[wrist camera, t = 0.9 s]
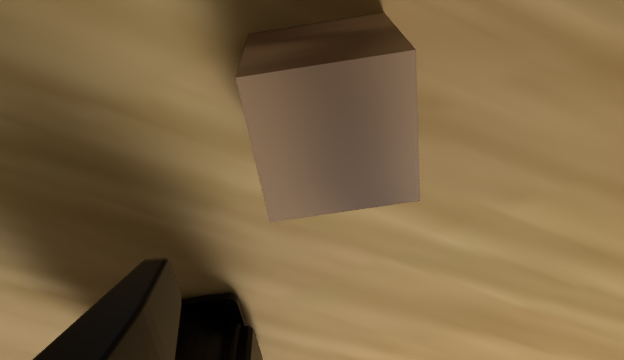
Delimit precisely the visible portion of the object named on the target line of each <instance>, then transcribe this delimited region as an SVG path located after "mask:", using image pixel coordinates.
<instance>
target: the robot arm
mask: <svg viewBox="0 0 624 360" xmlns="http://www.w3.org/2000/svg"><path fill="white" fill-rule="evenodd" d="M226 302H230V303H231V304H227V303H226ZM33 360H263V359H262V354H261V351H260V348H259V345H258V341H257V338H256V335H255V331H254V329H253V328H252V327H251V326H250V325H247V324H246V321H245V318H244V314H243V311H242V308H241V305H240V302H239V299H238V297H237V296H236V295H235V294H232V293H223V294H216V295H209V296H201V297H194V298H187V299H181V293H180V289H179V286H178V282H177V279H176V276H175V272H174V269H173V266H172V263H171V261H170V260H169V259H167V258H156V259H147V260H144V261H143V262H141V263H140V264H139V265H138V266H137V267H136V268H135V269H133V270H132V271H131V272H130V273H129V274H128V275H127V276H126V277H125V278H123V279H122V280H121V281H120V282H119V283H118V284H117V285H116V286H114V287H113V288H112V289H111V290H110V291H109V292H108V293H107V294H105V295H104V296H103V297H102V298H101V299H100V300H99V301H98V302H97V303H95V304H94V305H93V306H92V307H91V308H90V309H89V310H88V311H86V312H85V313H84V314H83V315H82V316H81V317H80V318H79V319H77V320H76V321H75V322H74V323H73V324H72V325H71V326H70V327H69V328H67V329H66V330H65V331H64V332H63V333H62V334H61V335H60V336H58V337H57V338H56V339H55V340H54V341H53V342H52V343H51V344H49V345H48V346H47V347H46V348H45V349H44V350H43V351H42V352H41V353H39V354H38V355H37V356H36V357H35V358H34V359H33Z"/></svg>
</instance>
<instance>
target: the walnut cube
mask: <svg viewBox="0 0 624 360" xmlns="http://www.w3.org/2000/svg"><path fill="white" fill-rule="evenodd" d="M235 78H236V83H237V87H238V91H239V95H240V99H241V104H242V108H243V112H244V116H245V120H246V125H247V129H248V133H249V137H250V141H251V146H252V150H253V154H254V158H255V162H256V167H257V171H258V175H259V179H260V183H261V188H262V192H263V196H264V200H265V204H266V209H267V213H268V217H269V221H270V222H275V221H282V220H289V219H296V218H302V217H309V216H316V215H323V214H330V213H337V212H344V211H351V210H358V209H365V208H372V207H379V206H386V205H393V204H400V203H407V202H414V201H420V183H419V147H418V111H417V75H416V49H415V48H414V47H413V46H412V45H411V44H410V42H409V41H408V40H407V39H406V38H405V37H404V35H403V34H402V33H401V32H400V31H399V29H398V28H397V27H396V26H395V25H394V24H393V22H392V21H391V20H390V19H389V18H388V17H387V15H386V14H385V13H378V14H371V15H365V16H359V17H352V18H346V19H340V20H333V21H327V22H321V23H314V24H308V25H302V26H296V27H289V28H283V29H277V30H270V31H264V32H258V33H251V34H248V37H247V41H246V44H245V47H244V51H243V54H242V57H241V61H240V64H239V67H238V71H237V74H236V77H235Z"/></svg>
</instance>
